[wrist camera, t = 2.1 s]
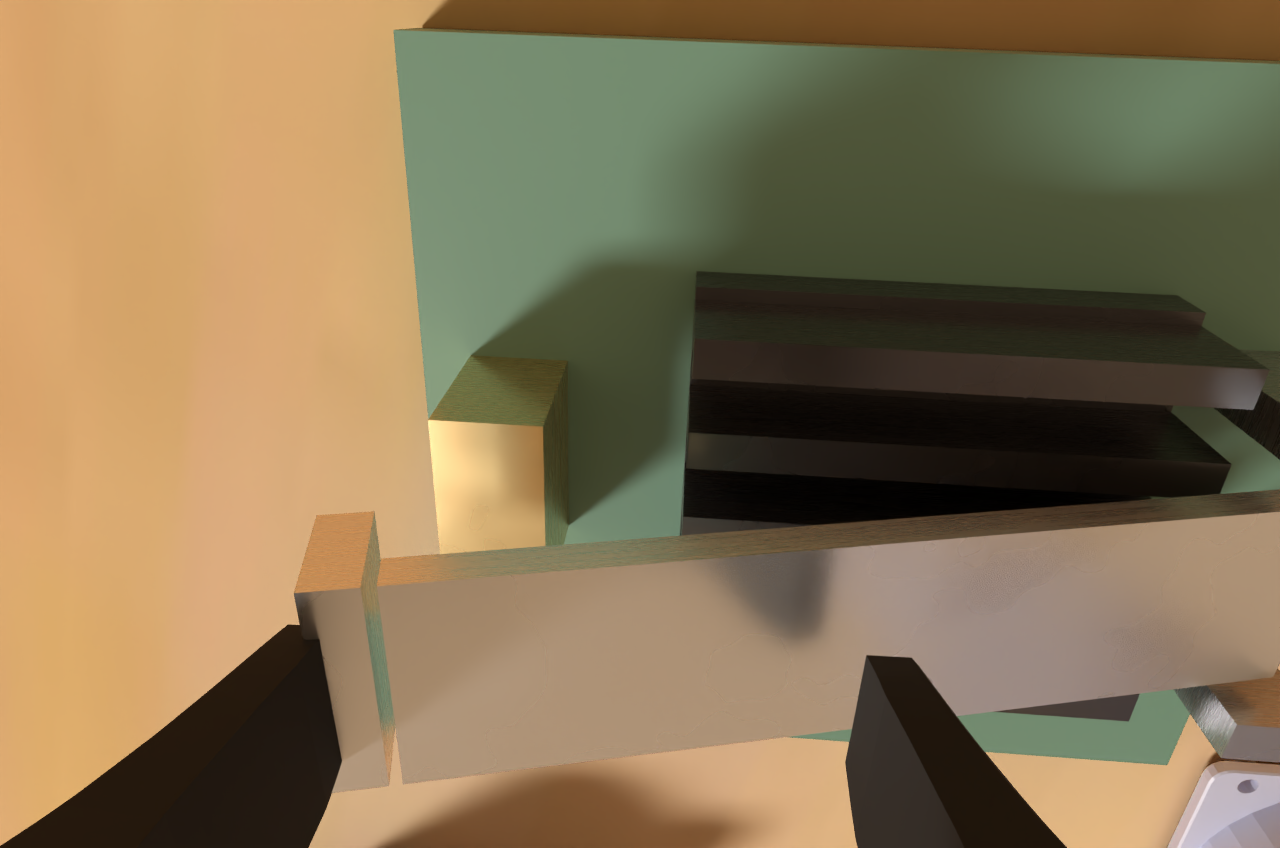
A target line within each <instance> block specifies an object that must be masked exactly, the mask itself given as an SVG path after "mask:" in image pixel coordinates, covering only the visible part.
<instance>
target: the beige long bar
mask: <svg viewBox="0 0 1280 848" xmlns="http://www.w3.org/2000/svg"><path fill="white" fill-rule="evenodd" d="M294 597H295V602H296V607H297V612H298V618H299V623H300V628H301V633H302V639H303V640H310V639H319V640H320V645H321V651H322V656H323V661H324V667H325V672H326V677H327V683H328V688H329V693H330V699H331V704H332V710H333V715H334V720H335V726H336V731H337V736H338V742H339V747H340V753H341V758H342V763H341V767H340V770H339V773H338V776H337V779H336V782H335V785H334V788H333V791H332V793H336V792H345V791H353V790H361V789H369V788H377V787H385V786H389V782H390V772H391V762H392V752H393V742H394V732H395V727H396V734H397V742H398V749H399V756H400V764H401V771H402V779H403V784H410V783H418V782H426V781H434V780H442V779H450V778H458V777H466V776H474V775H483V774H491V773H499V772H507V771H515V770H523V769H531V768H539V767H548V766H556V765H564V764H572V763H580V762H588V761H596V760H604V759H613V758H621V757H629V756H637V755H645V754H653V753H661V752H669V751H677V750H686V749H694V748H702V747H710V746H718V745H726V744H734V743H742V742H751V741H759V740H767V739H775V738H783V737H791V736H799V735H807V734H816V733H824V732H832V731H840V730H848V729H852V726H853V721H854V716H855V711H856V706H857V701H858V695H859V690H860V685H861V680H862V675H863V670H864V665H865V659H866V655H873V656H892V657H911V658H913V660H914V661H915V662H916V663H917V664H918V665H919V666H920V668H921V669H922V670H923V672H924V673H925V674H926V676H927V677H928V679H929V680H930V681H931V683H932V684H933V685H934V687H935V688H936V689H937V691H938V692H939V693H940V695H941V696H942V697H943V699H944V700H945V701H946V703H947V704H948V705H949V707H950V708H951V709H952V711H953V712H954V713H955V714H956V716H962V715H970V714H978V713H986V712H994V711H1002V710H1010V709H1019V708H1027V707H1035V706H1043V705H1051V704H1059V703H1067V702H1075V701H1083V700H1092V699H1100V698H1108V697H1116V696H1124V695H1132V694H1140V693H1148V692H1157V691H1165V690H1173V689H1181V688H1189V687H1197V686H1205V685H1213V684H1221V683H1230V682H1238V681H1246V680H1254V679H1262V678H1270V677H1273V676H1274V674H1275V672H1276V670H1277V668H1278V666H1279V664H1280V489H1279V490H1266V491H1253V492H1240V493H1227V494H1214V495H1201V496H1188V497H1175V498H1162V499H1149V500H1136V501H1123V502H1110V503H1097V504H1084V505H1071V506H1058V507H1045V508H1032V509H1019V510H1006V511H993V512H980V513H967V514H954V515H941V516H928V517H915V518H902V519H889V520H876V521H863V522H850V523H837V524H825V525H812V526H799V527H786V528H773V529H760V530H747V531H734V532H721V533H708V534H695V535H682V536H669V537H656V538H643V539H630V540H617V541H604V542H591V543H578V544H565V545H552V546H539V547H526V548H513V549H500V550H487V551H474V552H461V553H448V554H435V555H422V556H409V557H396V558H384V559H380V552H379V544H378V536H377V528H376V521H375V513H374V512H359V513H344V514H330V515H317V516H316V519H315V523H314V526H313V530H312V533H311V536H310V540H309V543H308V547H307V550H306V553H305V557H304V560H303V564H302V567H301V571H300V574H299V577H298V581H297V584H296V588H295V591H294Z"/></svg>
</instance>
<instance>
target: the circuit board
mask: <svg viewBox="0 0 1280 848" xmlns="http://www.w3.org/2000/svg"><path fill="white" fill-rule="evenodd" d="M394 41H395V53H396V64H397V75H398V86H399V97H400V108H401V119H402V130H403V142H404V153H405V164H406V175H407V186H408V197H409V208H410V220H411V231H412V242H413V253H414V264H415V275H416V286H417V298H418V309H419V320H420V331H421V342H422V353H423V364H424V376H425V387H426V398H427V409H428V419H429V418H430V416H431V415H432V413H433V412H434V410H435V409H436V407H437V406H438V404H439V402H440V401H441V399H442V398H443V396H444V395H445V393H446V392H447V390H448V389H449V387H450V386H451V384H452V383H453V381H454V380H455V378H456V377H457V375H458V374H459V372H460V371H461V369H462V368H463V366H464V365H465V363H466V362H467V360H468V358H469V357H470V355H474V356H492V357H510V358H528V359H547V360H565V361H568V498H569V526H568V530H567V534H566V538H565V542H564V545H565V544H578V543H591V542H604V541H617V540H630V539H643V538H656V537H669V536H679V534H680V519H681V503H682V488H683V472H684V457H685V441H686V426H687V410H688V395H689V379H690V364H691V348H692V333H693V318H694V302H695V287H696V271H704V272H724V273H744V274H764V275H783V276H803V277H823V278H843V279H863V280H883V281H903V282H923V283H943V284H962V285H982V286H1002V287H1022V288H1042V289H1062V290H1082V291H1102V292H1122V293H1142V294H1161V295H1178V296H1179V297H1181V298H1183V299H1184V300H1186V301H1188V302H1189V303H1191V304H1193V305H1194V306H1196V307H1198V308H1199V309H1201V310H1203V311H1204V312H1206V315H1205V318H1204V321H1203V323H1202V327H1204V328H1205V329H1207V330H1208V331H1210V332H1211V333H1213V334H1215V335H1216V336H1218V337H1219V338H1221V339H1222V340H1224V341H1226V342H1227V343H1229V344H1230V345H1232V346H1233V347H1235V348H1237V349H1241V350H1259V351H1278V352H1280V61H1268V60H1241V59H1215V58H1189V57H1163V56H1137V55H1111V54H1085V53H1059V52H1033V51H1007V50H980V49H954V48H928V47H902V46H876V45H850V44H824V43H798V42H772V41H746V40H720V39H693V38H667V37H641V36H615V35H589V34H563V33H537V32H511V31H485V30H459V29H432V28H413V29H400V30H394ZM1171 412H1172V413H1173V414H1174V415H1175V416H1176V417H1177V418H1179V419H1180V420H1181V421H1182V422H1183V423H1184V424H1186V425H1187V426H1188V427H1189V428H1190V429H1191V430H1193V431H1194V432H1195V433H1196V434H1197V435H1198V436H1199V437H1201V438H1202V439H1203V440H1204V441H1205V442H1206V443H1208V444H1209V445H1210V446H1211V447H1212V448H1213V449H1215V450H1216V451H1217V452H1218V453H1219V454H1220V455H1222V456H1223V457H1224V458H1225V459H1226V460H1227V461H1229V462H1230V463H1231V464H1232V465H1231V468H1230V470H1229V473H1228V475H1227V478H1226V480H1225V483H1224V485H1223V488H1222V490H1221V493H1220V494H1227V493H1240V492H1253V491H1266V490H1279V489H1280V460H1279V459H1278V458H1277V457H1276V456H1274V455H1273V454H1272V453H1270V452H1269V451H1268V450H1267V449H1265V448H1264V447H1263V446H1262V445H1260V444H1259V443H1258V442H1256V441H1255V440H1254V439H1253V438H1251V437H1250V436H1249V435H1247V434H1246V433H1245V432H1244V431H1242V430H1241V429H1240V428H1239V427H1237V426H1236V425H1235V424H1233V423H1232V422H1231V421H1230V420H1228V419H1227V418H1226V417H1224V416H1223V415H1222V414H1221V413H1219V412H1218V411H1217V410H1216V409H1214V408H1209V407H1191V406H1173V409H1172V411H1171ZM1150 498H1151V499H1162V498H1169V497H1152V496H1150ZM1189 715H1190V713H1189V711H1188V710H1187V709H1186V707H1185V706H1184V704H1183V703H1182V701H1181V700H1180V698H1179V697H1178V696H1177V694H1176V693H1175V691H1174V690H1165V691H1157V692H1148V693H1140V694H1139V697H1138V700H1137V702H1136V705H1135V707H1134V710H1133V712H1132V715H1131V717H1130V720H1129V722H1128V721H1114V720H1100V719H1086V718H1072V717H1059V716H1045V715H1031V714H1017V713H1003V712H986V713H978V714H970V715H962V716H957V717H958V718H959V720H960V721H961V722H962V724H963V725H964V726H965V727H966V729H967V730H968V731H969V733H970V734H971V735H972V736H973V738H974V739H975V740H976V742H977V743H978V744H979V745H980V747H981V748H982V749H983V750H984V752H995V753H1009V754H1022V755H1036V756H1050V757H1063V758H1077V759H1090V760H1104V761H1117V762H1131V763H1144V764H1158V765H1167V764H1168V762H1169V760H1170V758H1171V755H1172V753H1173V751H1174V749H1175V746H1176V744H1177V742H1178V740H1179V737H1180V735H1181V733H1182V731H1183V728H1184V726H1185V724H1186V722H1187V719H1188V717H1189ZM851 731H852V729H848V730H840V731H832V732H824V733H816V734H807V735H799V736H791V737H792V738H806V739H819V740H833V741H846V742H850V737H851Z"/></svg>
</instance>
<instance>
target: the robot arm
mask: <svg viewBox="0 0 1280 848" xmlns="http://www.w3.org/2000/svg"><path fill="white" fill-rule="evenodd" d="M341 763H342V758H341V753H340V747H339V742H338V736H337V731H336V726H335V720H334V715H333V710H332V704H331V699H330V693H329V688H328V683H327V677H326V672H325V667H324V661H323V656H322V651H321V645H320V640H319V639H310V640H303V639H302V633H301V628H300V625H287V626H286V627H285V628H283V629H282V630H281V631H280V632H278V633H277V634H276V635H275V636H273V637H272V638H271V639H270V640H269V641H267V642H266V643H265V644H264V645H263V646H261V647H260V648H259V649H258V650H257V651H255V652H254V653H253V654H252V655H251V656H250V657H248V658H247V659H246V660H245V661H244V662H242V663H241V664H240V665H239V666H238V667H237V668H235V669H234V670H233V671H232V672H231V673H229V674H228V675H227V676H226V677H225V678H224V679H222V680H221V681H220V682H219V683H218V684H216V685H215V686H214V687H213V688H212V689H210V690H209V691H208V692H207V693H206V694H204V695H203V696H202V697H201V698H200V699H198V700H197V701H196V702H195V703H193V704H192V705H191V706H190V707H189V708H187V709H186V710H185V711H184V712H183V713H181V714H180V715H179V716H178V717H176V718H175V719H174V720H173V721H171V722H170V723H169V724H168V725H167V726H165V727H164V728H163V729H162V730H160V731H159V732H158V733H157V734H155V735H154V736H153V737H152V738H150V739H149V740H148V741H146V742H145V743H144V744H142V745H141V746H140V747H138V748H137V749H136V750H134V751H133V752H132V753H130V754H129V755H128V756H127V757H125V758H124V759H123V760H121V761H120V762H119V763H117V764H116V765H115V766H113V767H112V768H111V769H109V770H108V771H107V772H105V773H104V774H103V775H101V776H100V777H99V778H97V779H96V780H95V781H94V782H92V783H91V784H90V785H88V786H87V787H86V788H84V789H83V790H82V791H80V792H79V793H77V794H76V795H75V796H73V797H72V798H70V799H69V800H68V801H66V802H65V803H63V804H62V805H61V806H59V807H58V808H56V809H55V810H53V811H52V812H50V813H49V814H48V815H46V816H45V817H43V818H42V819H40V820H39V821H37V822H36V823H35V824H33V825H31V826H30V827H28V828H27V829H25V830H24V831H22V832H21V833H19V834H18V835H16V836H15V837H13V838H12V839H10V840H9V841H7V842H6V843H4V844H3V845H1V846H0V848H308V847H309V845H310V843H311V841H312V839H313V836H314V834H315V832H316V830H317V828H318V826H319V823H320V821H321V819H322V817H323V814H324V812H325V810H326V808H327V805H328V802H329V799H330V796H331V793H332V791H333V788H334V785H335V782H336V779H337V776H338V773H339V770H340V767H341ZM845 763H846V771H847V779H848V787H849V795H850V803H851V810H852V817H853V824H854V831H855V837H856V842H857V846H858V848H1067V847H1066V846H1065V845H1064V844H1063V843H1062V842H1061V841H1060V840H1059V838H1058V837H1057V836H1056V835H1055V834H1054V833H1053V832H1052V831H1051V830H1050V829H1049V827H1048V826H1047V825H1046V824H1045V823H1044V822H1043V821H1042V820H1041V818H1040V817H1039V816H1038V815H1037V814H1036V813H1035V812H1034V810H1033V809H1032V808H1031V807H1030V806H1029V805H1028V804H1027V802H1026V801H1025V800H1024V799H1023V798H1022V796H1021V795H1020V794H1019V793H1018V792H1017V790H1016V789H1015V788H1014V787H1013V786H1012V784H1011V783H1010V782H1009V781H1008V780H1007V778H1006V777H1005V776H1004V775H1003V774H1002V772H1001V771H1000V770H999V769H998V768H997V766H996V765H995V764H994V763H993V762H992V760H991V759H990V758H989V757H988V755H987V754H986V753H985V752H984V750H983V749H982V748H981V747H980V745H979V744H978V743H977V742H976V740H975V739H974V738H973V736H972V735H971V734H970V733H969V731H968V730H967V729H966V727H965V726H964V725H963V724H962V722H961V721H960V720H959V718H958V717H957V716H956V714H955V713H954V712H953V711H952V709H951V708H950V707H949V705H948V704H947V703H946V701H945V700H944V699H943V697H942V696H941V695H940V693H939V692H938V691H937V689H936V688H935V687H934V685H933V684H932V683H931V681H930V680H929V679H928V677H927V676H926V674H925V673H924V672H923V670H922V669H921V668H920V666H919V665H918V664H917V663H916V662H915V661H914V660H913V658H911V657H892V656H873V655H866V659H865V665H864V670H863V675H862V680H861V685H860V690H859V695H858V701H857V706H856V711H855V716H854V721H853V726H852V731H851V737H850V742H849V747H848V752H847V757H846V762H845ZM1167 848H1280V765H1276V764H1262V763H1249V762H1235V761H1219V762H1215V763H1212V764H1211V765H1209V766H1208V767H1206V769H1205V770H1204V771H1203V773H1202V775H1201V777H1200V779H1199V781H1198V783H1197V786H1196V788H1195V790H1194V792H1193V794H1192V796H1191V798H1190V800H1189V803H1188V805H1187V807H1186V809H1185V811H1184V813H1183V815H1182V817H1181V819H1180V822H1179V824H1178V826H1177V828H1176V830H1175V832H1174V834H1173V836H1172V839H1171V841H1170V843H1169V845H1168V847H1167Z"/></svg>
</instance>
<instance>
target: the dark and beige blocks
mask: <svg viewBox="0 0 1280 848" xmlns="http://www.w3.org/2000/svg"><path fill="white" fill-rule="evenodd" d="M1205 315H1206V312H1204V311H1203V310H1201V309H1199V308H1198V307H1196V306H1194V305H1193V304H1191V303H1189V302H1188V301H1186V300H1184V299H1183V298H1181V297H1179V296H1178V295H1161V294H1142V293H1122V292H1102V291H1082V290H1062V289H1042V288H1022V287H1002V286H982V285H962V284H943V283H923V282H903V281H883V280H863V279H843V278H823V277H803V276H783V275H764V274H744V273H724V272H704V271H696V287H695V302H694V318H693V333H692V348H691V364H690V379H689V395H688V410H687V426H686V441H685V457H684V472H683V488H682V503H681V519H680V534H679V536H682V535H695V534H708V533H721V532H734V531H747V530H760V529H773V528H786V527H799V526H812V525H825V524H837V523H850V522H863V521H876V520H889V519H902V518H915V517H928V516H941V515H954V514H967V513H980V512H993V511H1006V510H1019V509H1032V508H1045V507H1058V506H1071V505H1084V504H1097V503H1110V502H1123V501H1136V500H1149V499H1151V498H1150V496H1152V497H1169V498H1175V497H1188V496H1201V495H1214V494H1220V493H1221V490H1222V488H1223V485H1224V483H1225V480H1226V478H1227V475H1228V473H1229V470H1230V468H1231V465H1232V464H1231V463H1230V462H1229V461H1227V460H1226V459H1225V458H1224V457H1223V456H1222V455H1220V454H1219V453H1218V452H1217V451H1216V450H1215V449H1213V448H1212V447H1211V446H1210V445H1209V444H1208V443H1206V442H1205V441H1204V440H1203V439H1202V438H1201V437H1199V436H1198V435H1197V434H1196V433H1195V432H1194V431H1193V430H1191V429H1190V428H1189V427H1188V426H1187V425H1186V424H1184V423H1183V422H1182V421H1181V420H1180V419H1179V418H1177V417H1176V416H1175V415H1174V414H1173V413H1172V412H1171V411H1172V409H1173V406H1191V407H1209V408H1214V409H1216V410H1217V411H1218V412H1219V413H1221V414H1222V415H1223V416H1224V417H1226V418H1227V419H1228V420H1230V421H1231V422H1232V423H1233V424H1235V425H1236V426H1237V427H1239V428H1240V429H1241V430H1242V431H1244V432H1245V433H1246V434H1247V435H1249V436H1250V437H1251V438H1253V439H1254V440H1255V441H1256V442H1258V443H1259V444H1260V445H1262V446H1263V447H1264V448H1265V449H1267V450H1268V451H1269V452H1270V453H1272V454H1273V455H1274V456H1276V457H1277V458H1278V459H1279V460H1280V352H1278V351H1259V350H1241V349H1237V348H1235V347H1233V346H1232V345H1230V344H1229V343H1227V342H1226V341H1224V340H1222V339H1221V338H1219V337H1218V336H1216V335H1215V334H1213V333H1211V332H1210V331H1208V330H1207V329H1205V328H1204V327H1202V323H1203V321H1204V318H1205ZM428 425H429V436H430V447H431V458H432V470H433V481H434V492H435V503H436V514H437V525H438V536H439V547H440V554H448V553H461V552H474V551H487V550H500V549H513V548H526V547H539V546H552V545H564V542H565V538H566V534H567V530H568V526H569V498H568V361H565V360H547V359H528V358H510V357H492V356H474V355H470V357H469V358H468V360H467V362H466V363H465V365H464V366H463V368H462V369H461V371H460V372H459V374H458V375H457V377H456V378H455V380H454V381H453V383H452V384H451V386H450V387H449V389H448V390H447V392H446V393H445V395H444V396H443V398H442V399H441V401H440V402H439V404H438V406H437V407H436V409H435V410H434V412H433V413H432V415H431V416H430V418H429V419H428ZM1173 690H1174V691H1175V693H1176V694H1177V696H1178V697H1179V698H1180V700H1181V701H1182V703H1183V704H1184V706H1185V707H1186V709H1187V710H1188V711H1189V713H1190V714H1191V716H1192V717H1193V719H1194V720H1195V722H1196V723H1197V724H1198V726H1199V727H1200V729H1201V730H1202V732H1203V733H1204V735H1205V736H1206V737H1207V739H1208V740H1209V742H1210V743H1211V745H1212V746H1213V748H1214V749H1215V750H1216V752H1217V753H1218V755H1219V756H1220V758H1226V759H1239V760H1253V761H1267V762H1280V671H1279V669H1278V668H1277V670H1276V672H1275V674H1274V676H1273V677H1270V678H1262V679H1254V680H1246V681H1238V682H1230V683H1221V684H1213V685H1205V686H1197V687H1189V688H1181V689H1173ZM1138 697H1139V694H1132V695H1124V696H1116V697H1108V698H1100V699H1092V700H1083V701H1075V702H1067V703H1059V704H1051V705H1043V706H1035V707H1027V708H1019V709H1010V710H1002V711H994V712H1003V713H1017V714H1031V715H1045V716H1059V717H1072V718H1086V719H1100V720H1114V721H1128V722H1129V720H1130V717H1131V715H1132V712H1133V710H1134V707H1135V705H1136V702H1137V700H1138Z"/></svg>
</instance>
